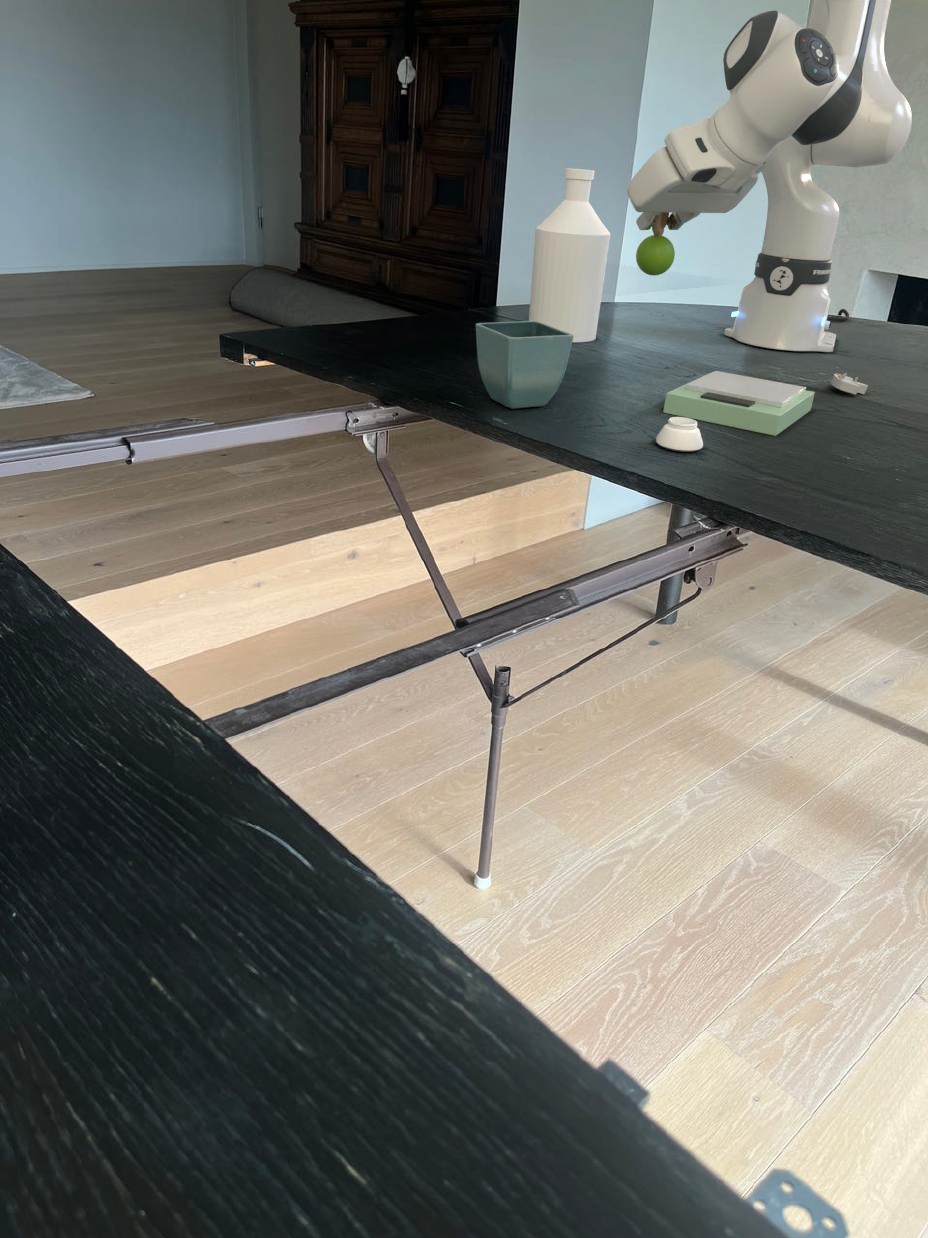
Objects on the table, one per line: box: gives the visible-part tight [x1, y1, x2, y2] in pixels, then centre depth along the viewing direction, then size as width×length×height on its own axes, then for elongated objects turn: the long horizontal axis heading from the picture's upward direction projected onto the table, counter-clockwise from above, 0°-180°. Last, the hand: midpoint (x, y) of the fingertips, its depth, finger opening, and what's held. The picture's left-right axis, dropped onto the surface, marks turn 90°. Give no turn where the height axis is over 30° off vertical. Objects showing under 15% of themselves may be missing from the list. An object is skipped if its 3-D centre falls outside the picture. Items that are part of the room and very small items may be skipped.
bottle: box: [528, 167, 612, 343], centre depth 153 cm, size 12×12×25 cm
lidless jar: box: [655, 416, 704, 453], centre depth 104 cm, size 5×3×5 cm
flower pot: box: [475, 320, 574, 410], centre depth 115 cm, size 9×9×9 cm
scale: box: [662, 370, 816, 437], centre depth 120 cm, size 16×14×3 cm
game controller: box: [781, 372, 869, 395], centre depth 134 cm, size 6×12×3 cm, turn 100°
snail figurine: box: [635, 212, 676, 276], centre depth 135 cm, size 5×6×12 cm
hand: (655, 226), depth 135 cm, fingers closed on snail figurine, 5 cm apart
